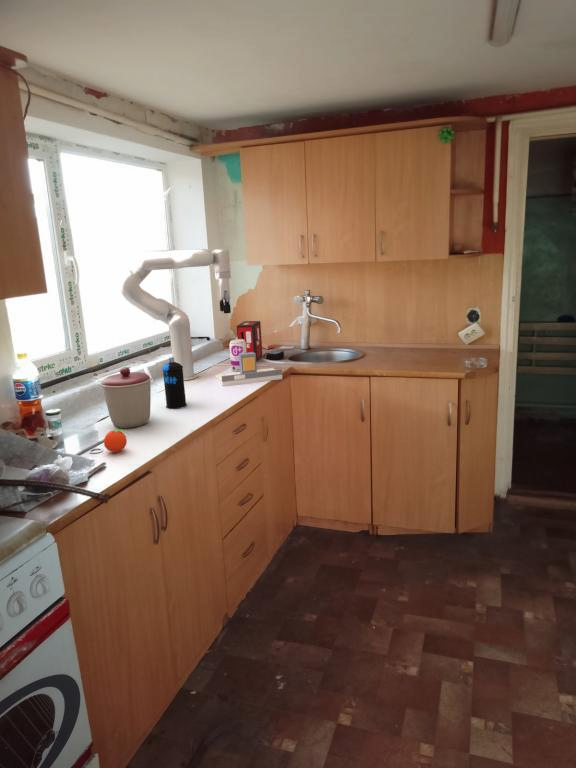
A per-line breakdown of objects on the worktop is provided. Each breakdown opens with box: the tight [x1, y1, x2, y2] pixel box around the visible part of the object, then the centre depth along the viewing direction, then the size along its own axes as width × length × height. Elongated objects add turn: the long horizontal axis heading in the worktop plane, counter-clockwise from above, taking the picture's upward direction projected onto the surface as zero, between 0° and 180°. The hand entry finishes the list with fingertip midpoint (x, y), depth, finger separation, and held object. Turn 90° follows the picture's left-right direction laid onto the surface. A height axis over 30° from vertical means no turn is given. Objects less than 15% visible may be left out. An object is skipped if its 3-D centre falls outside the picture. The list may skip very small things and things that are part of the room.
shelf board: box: [215, 367, 283, 387], centre depth 265 cm, size 28×16×4 cm, turn 107°
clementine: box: [103, 429, 128, 453], centre depth 179 cm, size 8×7×7 cm
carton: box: [239, 352, 258, 374], centre depth 264 cm, size 5×7×10 cm
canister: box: [99, 367, 153, 429], centre depth 205 cm, size 18×18×21 cm
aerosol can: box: [161, 356, 188, 410], centre depth 225 cm, size 8×8×20 cm
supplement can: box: [228, 338, 247, 372], centre depth 284 cm, size 8×8×15 cm
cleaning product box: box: [236, 320, 263, 363], centre depth 306 cm, size 16×9×20 cm, turn 170°
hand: (225, 312), depth 271 cm, fingers open, 9 cm apart
